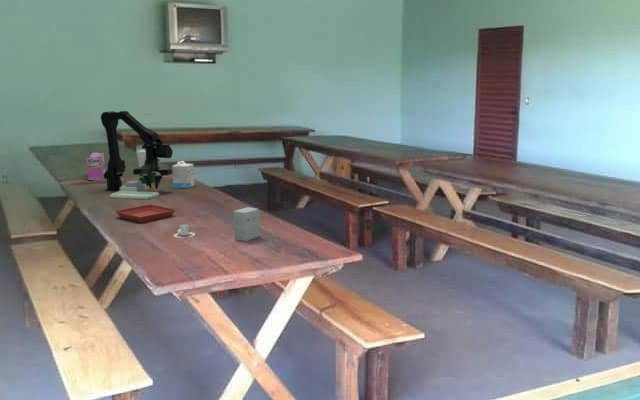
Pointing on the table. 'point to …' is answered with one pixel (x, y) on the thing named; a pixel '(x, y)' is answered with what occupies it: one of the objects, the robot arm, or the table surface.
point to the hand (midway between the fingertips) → (153, 188)
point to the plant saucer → (145, 213)
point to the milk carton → (141, 161)
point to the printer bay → (131, 188)
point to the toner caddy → (139, 186)
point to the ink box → (183, 175)
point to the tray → (134, 195)
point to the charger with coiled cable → (184, 231)
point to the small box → (246, 224)
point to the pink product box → (95, 166)
